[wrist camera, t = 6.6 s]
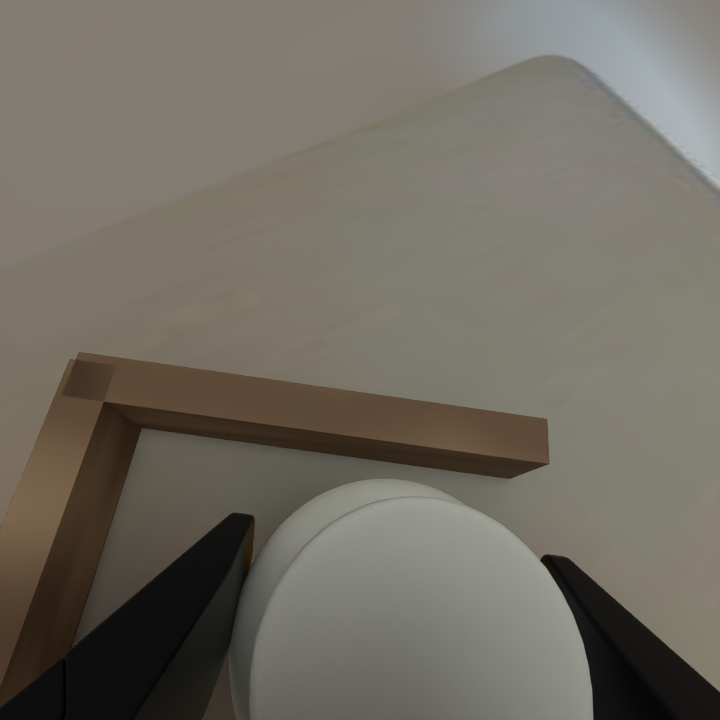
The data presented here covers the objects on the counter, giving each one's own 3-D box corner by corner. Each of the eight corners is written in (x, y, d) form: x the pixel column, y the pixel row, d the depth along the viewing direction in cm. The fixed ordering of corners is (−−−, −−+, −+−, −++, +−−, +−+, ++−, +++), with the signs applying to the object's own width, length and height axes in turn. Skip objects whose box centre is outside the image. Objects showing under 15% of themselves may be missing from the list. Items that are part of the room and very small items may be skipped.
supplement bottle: (294, 742, 12) (232, 1190, 4) (249, 541, 14) (137, 518, 6) (471, 665, 13) (755, 869, 5) (408, 487, 15) (525, 396, 7)
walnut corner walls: (514, 1009, 13) (579, 1160, 10) (-87, 947, 12) (-228, 1086, 9) (509, 440, 19) (547, 419, 16) (114, 384, 19) (73, 351, 16)
